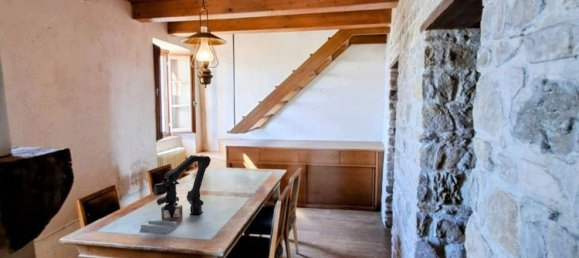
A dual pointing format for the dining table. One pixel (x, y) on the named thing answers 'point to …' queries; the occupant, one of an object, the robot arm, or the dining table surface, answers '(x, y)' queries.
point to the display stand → (159, 226)
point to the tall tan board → (176, 217)
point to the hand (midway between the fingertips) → (172, 216)
